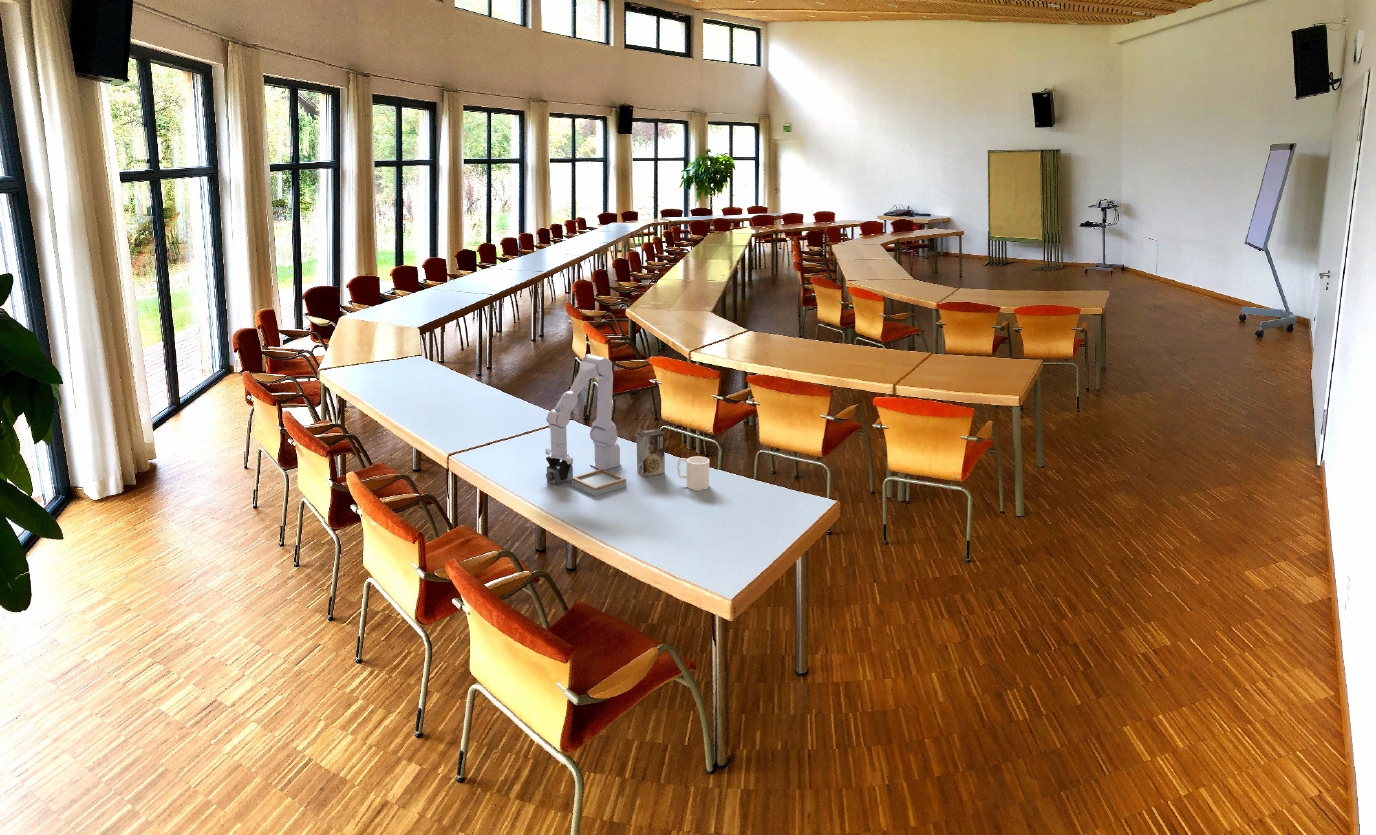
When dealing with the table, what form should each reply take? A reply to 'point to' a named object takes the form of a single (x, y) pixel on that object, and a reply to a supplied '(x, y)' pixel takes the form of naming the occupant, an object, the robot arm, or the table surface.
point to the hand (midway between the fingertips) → (559, 477)
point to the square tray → (598, 482)
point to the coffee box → (650, 452)
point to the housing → (557, 475)
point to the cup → (696, 472)
